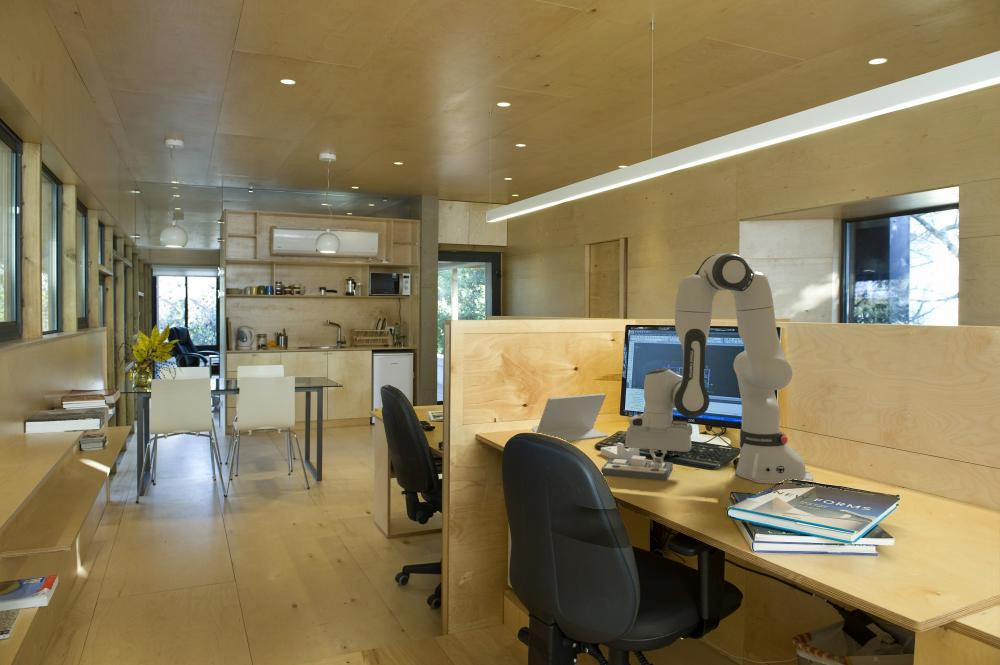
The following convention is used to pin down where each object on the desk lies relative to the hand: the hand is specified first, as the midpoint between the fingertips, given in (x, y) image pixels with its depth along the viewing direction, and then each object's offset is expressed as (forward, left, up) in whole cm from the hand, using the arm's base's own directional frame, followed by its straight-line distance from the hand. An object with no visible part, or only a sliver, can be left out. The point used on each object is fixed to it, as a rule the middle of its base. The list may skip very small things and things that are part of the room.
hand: (658, 463), depth 223 cm
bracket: (+15, -14, -4) cm, 21 cm away
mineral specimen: (0, -26, -4) cm, 27 cm away
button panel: (+6, +2, -4) cm, 7 cm away
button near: (0, 0, -3) cm, 3 cm away
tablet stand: (+41, -44, -4) cm, 61 cm away
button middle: (+6, 0, -1) cm, 6 cm away
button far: (+12, 0, -3) cm, 12 cm away
